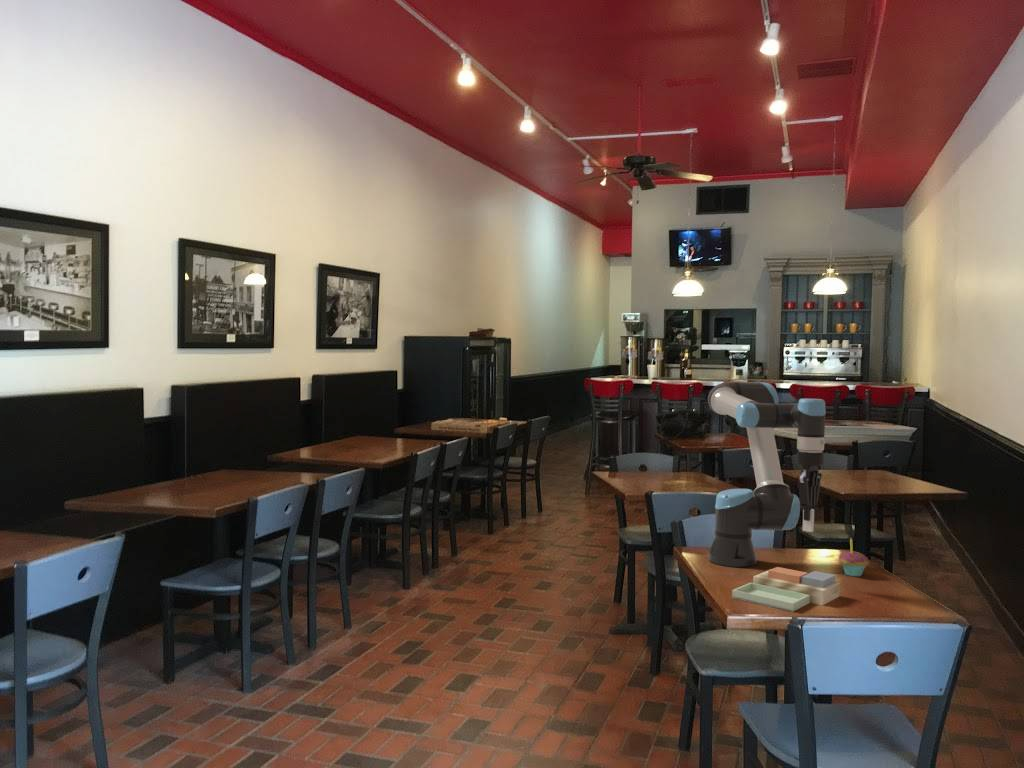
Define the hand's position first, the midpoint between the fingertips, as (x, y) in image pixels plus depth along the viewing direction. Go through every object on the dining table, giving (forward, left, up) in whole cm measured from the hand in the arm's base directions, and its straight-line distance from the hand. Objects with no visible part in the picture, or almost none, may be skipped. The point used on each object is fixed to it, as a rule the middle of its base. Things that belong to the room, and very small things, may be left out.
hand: (808, 531), depth 243 cm
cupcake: (+6, +22, -16) cm, 28 cm away
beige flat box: (+2, -12, -16) cm, 20 cm away
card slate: (+8, -11, -11) cm, 17 cm away
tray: (0, -24, -16) cm, 29 cm away
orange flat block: (0, -13, -11) cm, 17 cm away
